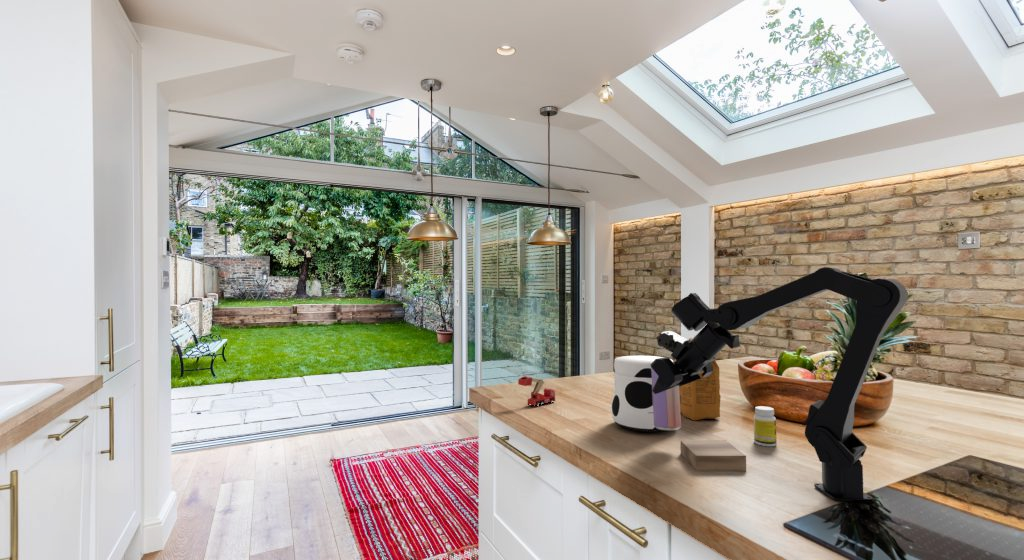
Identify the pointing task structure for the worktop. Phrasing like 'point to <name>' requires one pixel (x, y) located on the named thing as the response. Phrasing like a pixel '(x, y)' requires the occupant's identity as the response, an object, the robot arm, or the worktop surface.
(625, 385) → the milk container
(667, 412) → the beverage can
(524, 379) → the toy fire truck
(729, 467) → the walnut base brick
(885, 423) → the worktop surface
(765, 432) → the supplement bottle
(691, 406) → the coffee package
